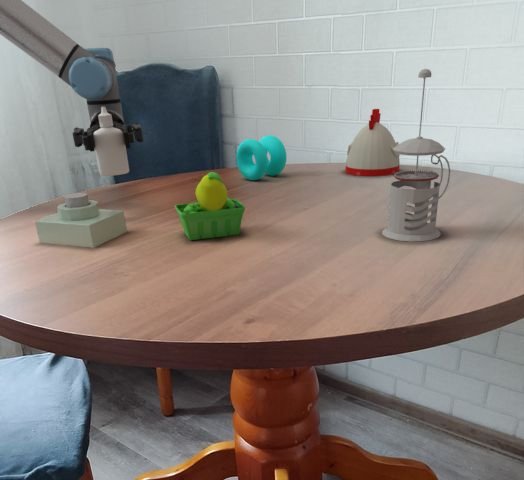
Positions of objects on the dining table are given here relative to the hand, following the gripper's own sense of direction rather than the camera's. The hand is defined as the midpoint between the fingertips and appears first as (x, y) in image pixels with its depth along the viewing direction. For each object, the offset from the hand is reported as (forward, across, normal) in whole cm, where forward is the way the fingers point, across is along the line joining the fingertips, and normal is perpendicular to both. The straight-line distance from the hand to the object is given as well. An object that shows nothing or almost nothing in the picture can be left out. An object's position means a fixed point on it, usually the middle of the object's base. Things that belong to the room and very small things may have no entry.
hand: (109, 141), depth 98 cm
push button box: (+5, +7, -15) cm, 18 cm away
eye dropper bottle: (-5, 0, -7) cm, 8 cm away
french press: (+26, -48, -16) cm, 57 cm away
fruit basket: (+13, -15, -16) cm, 26 cm away
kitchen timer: (-28, -65, -16) cm, 73 cm away
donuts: (-33, -37, -16) cm, 52 cm away
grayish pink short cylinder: (+5, +7, -10) cm, 13 cm away
